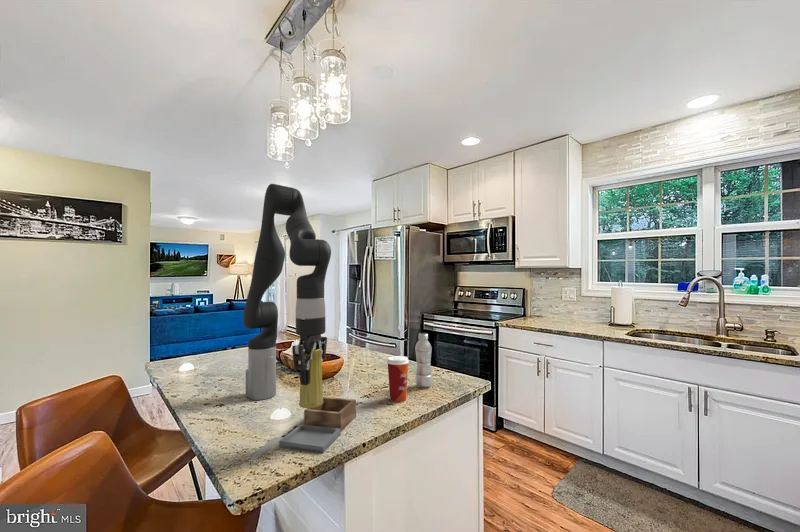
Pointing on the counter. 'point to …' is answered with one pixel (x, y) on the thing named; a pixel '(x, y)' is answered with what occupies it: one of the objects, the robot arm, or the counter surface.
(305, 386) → the vase
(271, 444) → the chef's knife
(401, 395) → the paper cup
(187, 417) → the counter surface
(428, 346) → the plastic bottle
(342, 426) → the brown wooden box
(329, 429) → the tray
